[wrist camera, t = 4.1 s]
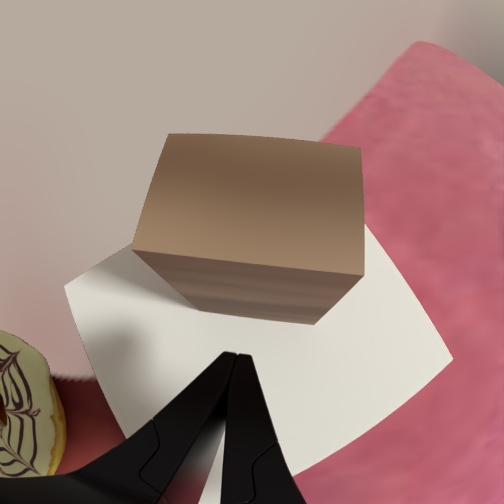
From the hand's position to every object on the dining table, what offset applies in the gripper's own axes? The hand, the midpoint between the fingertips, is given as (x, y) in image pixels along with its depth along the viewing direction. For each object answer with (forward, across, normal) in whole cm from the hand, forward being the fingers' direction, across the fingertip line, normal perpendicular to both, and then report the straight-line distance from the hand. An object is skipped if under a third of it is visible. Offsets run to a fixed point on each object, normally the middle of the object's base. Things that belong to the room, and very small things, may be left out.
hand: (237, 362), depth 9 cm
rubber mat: (+6, 0, +4) cm, 7 cm away
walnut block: (+8, 0, +2) cm, 8 cm away
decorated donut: (0, +15, +10) cm, 18 cm away
